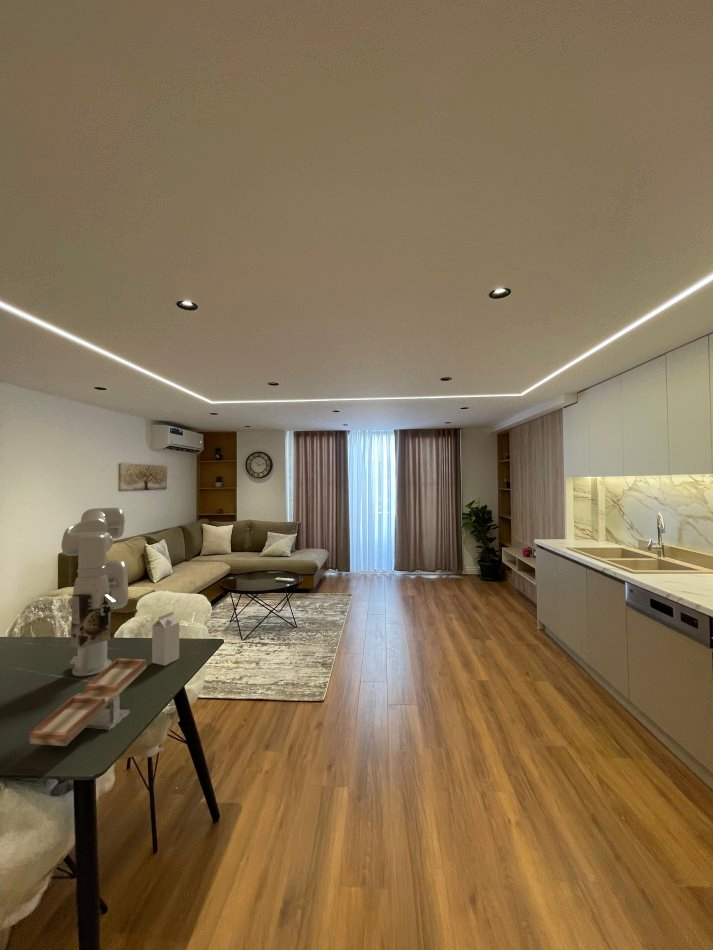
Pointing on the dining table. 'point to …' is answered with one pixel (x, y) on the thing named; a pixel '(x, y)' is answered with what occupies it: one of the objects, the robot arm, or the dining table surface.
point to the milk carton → (165, 639)
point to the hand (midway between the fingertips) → (91, 625)
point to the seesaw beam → (86, 703)
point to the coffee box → (87, 623)
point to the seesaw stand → (108, 715)
